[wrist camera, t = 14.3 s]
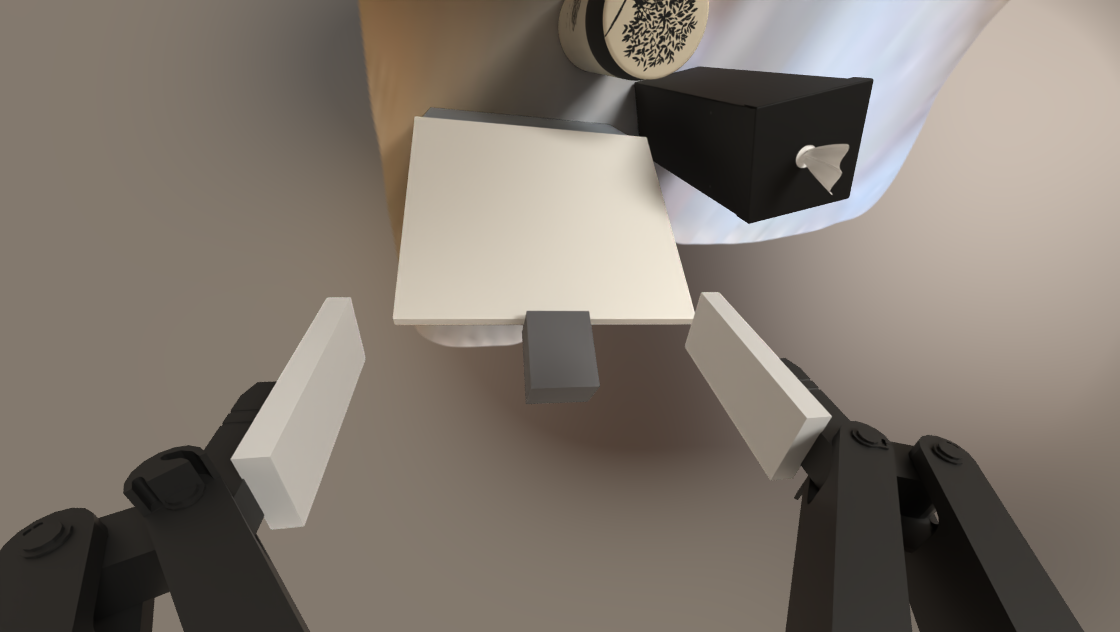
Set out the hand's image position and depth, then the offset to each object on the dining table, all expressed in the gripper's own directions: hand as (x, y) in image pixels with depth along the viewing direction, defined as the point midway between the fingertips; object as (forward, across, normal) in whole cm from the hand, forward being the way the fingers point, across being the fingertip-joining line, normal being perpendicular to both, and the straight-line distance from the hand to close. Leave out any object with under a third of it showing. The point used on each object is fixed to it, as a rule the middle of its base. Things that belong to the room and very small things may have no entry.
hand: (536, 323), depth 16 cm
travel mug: (+38, +10, +11) cm, 41 cm away
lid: (+16, +2, -4) cm, 17 cm away
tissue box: (+38, +19, +3) cm, 43 cm away
